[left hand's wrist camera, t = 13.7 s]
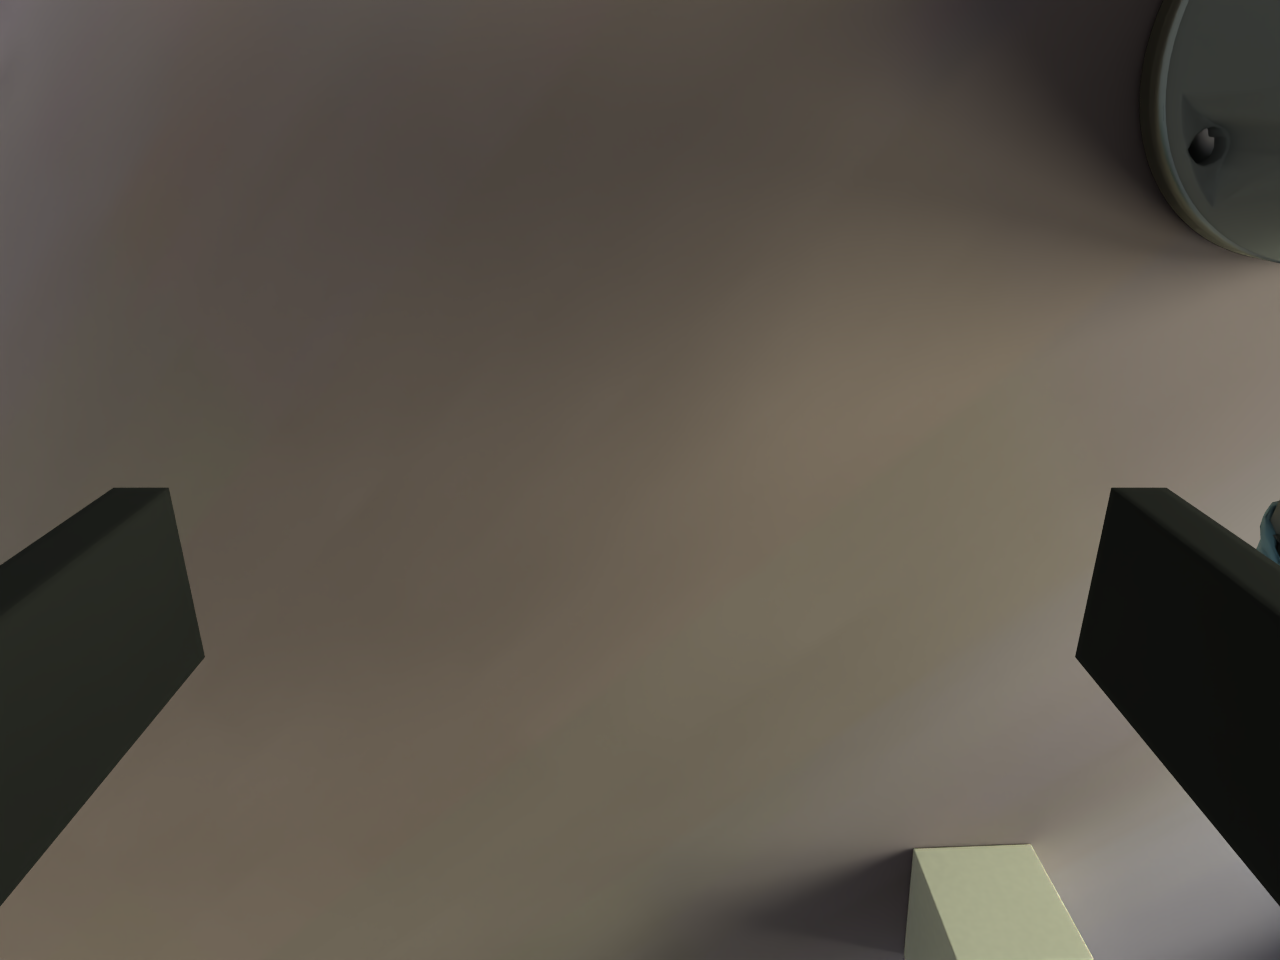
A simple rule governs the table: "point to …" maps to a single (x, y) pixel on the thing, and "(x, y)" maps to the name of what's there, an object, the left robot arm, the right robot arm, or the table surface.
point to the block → (987, 907)
